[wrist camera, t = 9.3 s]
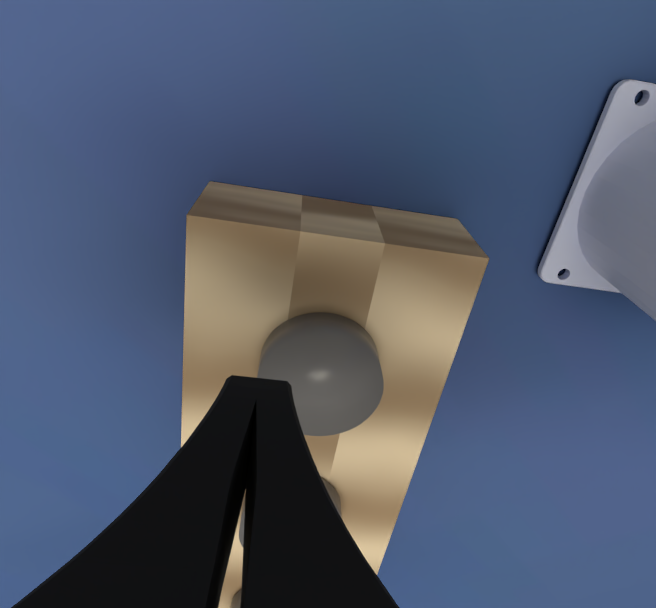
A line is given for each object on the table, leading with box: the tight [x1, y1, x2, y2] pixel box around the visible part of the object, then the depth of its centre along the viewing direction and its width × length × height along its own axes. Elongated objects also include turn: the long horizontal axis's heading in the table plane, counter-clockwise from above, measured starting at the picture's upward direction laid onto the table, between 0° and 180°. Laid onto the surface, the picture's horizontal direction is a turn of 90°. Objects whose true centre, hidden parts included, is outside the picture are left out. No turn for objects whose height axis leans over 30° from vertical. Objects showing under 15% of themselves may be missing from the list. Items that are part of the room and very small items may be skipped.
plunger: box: [257, 312, 384, 436], centre depth 19 cm, size 4×4×5 cm
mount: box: [181, 181, 489, 608], centre depth 24 cm, size 26×10×4 cm, turn 171°
